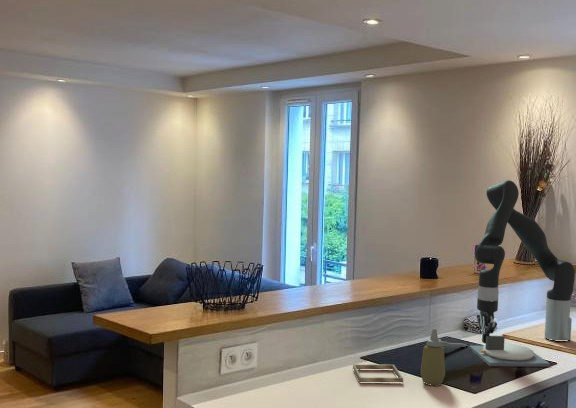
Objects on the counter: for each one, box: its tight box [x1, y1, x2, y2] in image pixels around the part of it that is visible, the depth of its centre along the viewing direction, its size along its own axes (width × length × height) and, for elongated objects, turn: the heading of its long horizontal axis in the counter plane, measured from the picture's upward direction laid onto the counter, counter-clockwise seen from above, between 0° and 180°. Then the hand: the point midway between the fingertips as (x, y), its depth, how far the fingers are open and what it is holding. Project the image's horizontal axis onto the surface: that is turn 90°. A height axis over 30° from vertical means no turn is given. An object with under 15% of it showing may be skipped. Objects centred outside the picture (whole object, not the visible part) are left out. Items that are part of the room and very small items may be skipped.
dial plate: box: [468, 345, 551, 368], centre depth 247 cm, size 22×22×1 cm
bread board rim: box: [352, 363, 404, 383], centre depth 220 cm, size 14×14×2 cm
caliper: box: [438, 338, 468, 350], centre depth 254 cm, size 20×1×6 cm, turn 130°
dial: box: [481, 335, 535, 361], centre depth 246 cm, size 19×18×6 cm
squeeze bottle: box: [419, 328, 446, 386], centre depth 214 cm, size 8×8×18 cm
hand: (485, 342), depth 249 cm, fingers closed
